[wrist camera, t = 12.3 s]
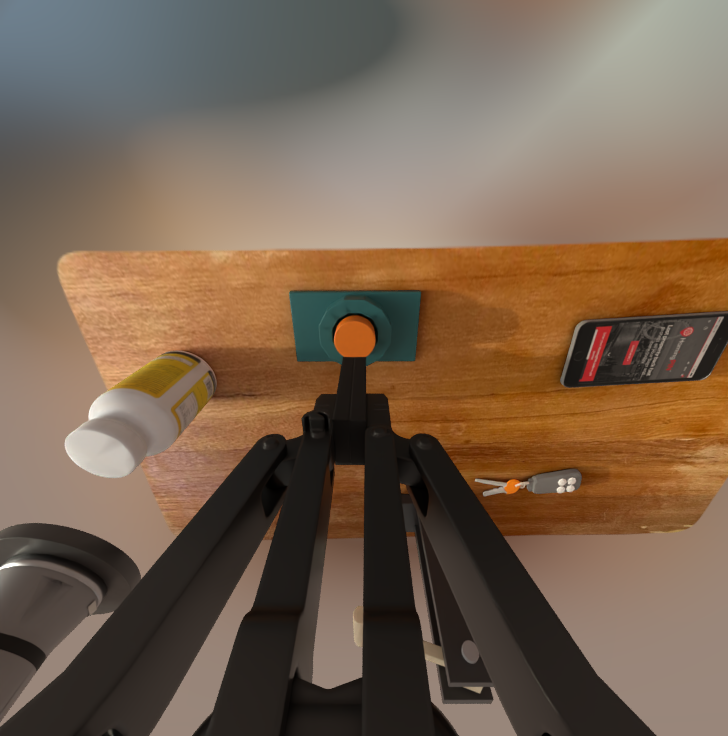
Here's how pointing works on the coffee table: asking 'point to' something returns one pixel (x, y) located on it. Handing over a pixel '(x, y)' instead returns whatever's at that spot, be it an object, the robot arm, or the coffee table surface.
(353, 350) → the button
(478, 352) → the coffee table surface
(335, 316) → the teal button base
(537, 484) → the key chain
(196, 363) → the pill bottle
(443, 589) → the lever switch stand
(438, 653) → the switch lever
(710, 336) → the smartphone
